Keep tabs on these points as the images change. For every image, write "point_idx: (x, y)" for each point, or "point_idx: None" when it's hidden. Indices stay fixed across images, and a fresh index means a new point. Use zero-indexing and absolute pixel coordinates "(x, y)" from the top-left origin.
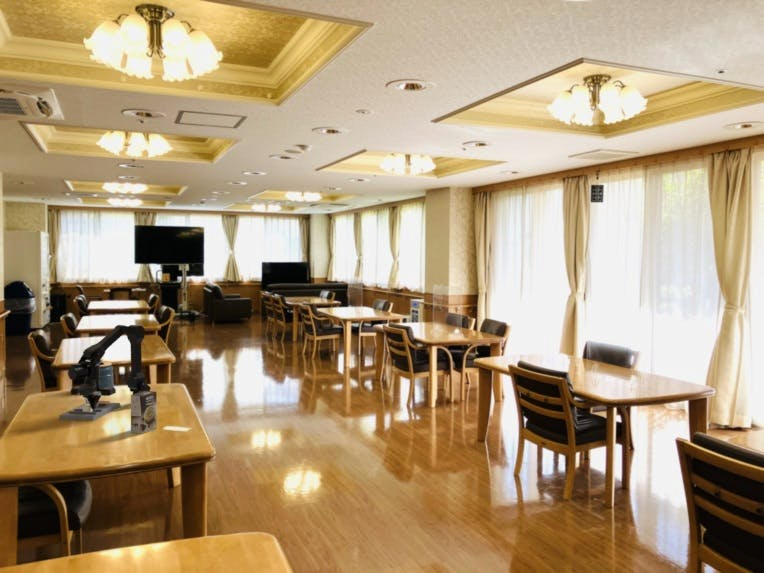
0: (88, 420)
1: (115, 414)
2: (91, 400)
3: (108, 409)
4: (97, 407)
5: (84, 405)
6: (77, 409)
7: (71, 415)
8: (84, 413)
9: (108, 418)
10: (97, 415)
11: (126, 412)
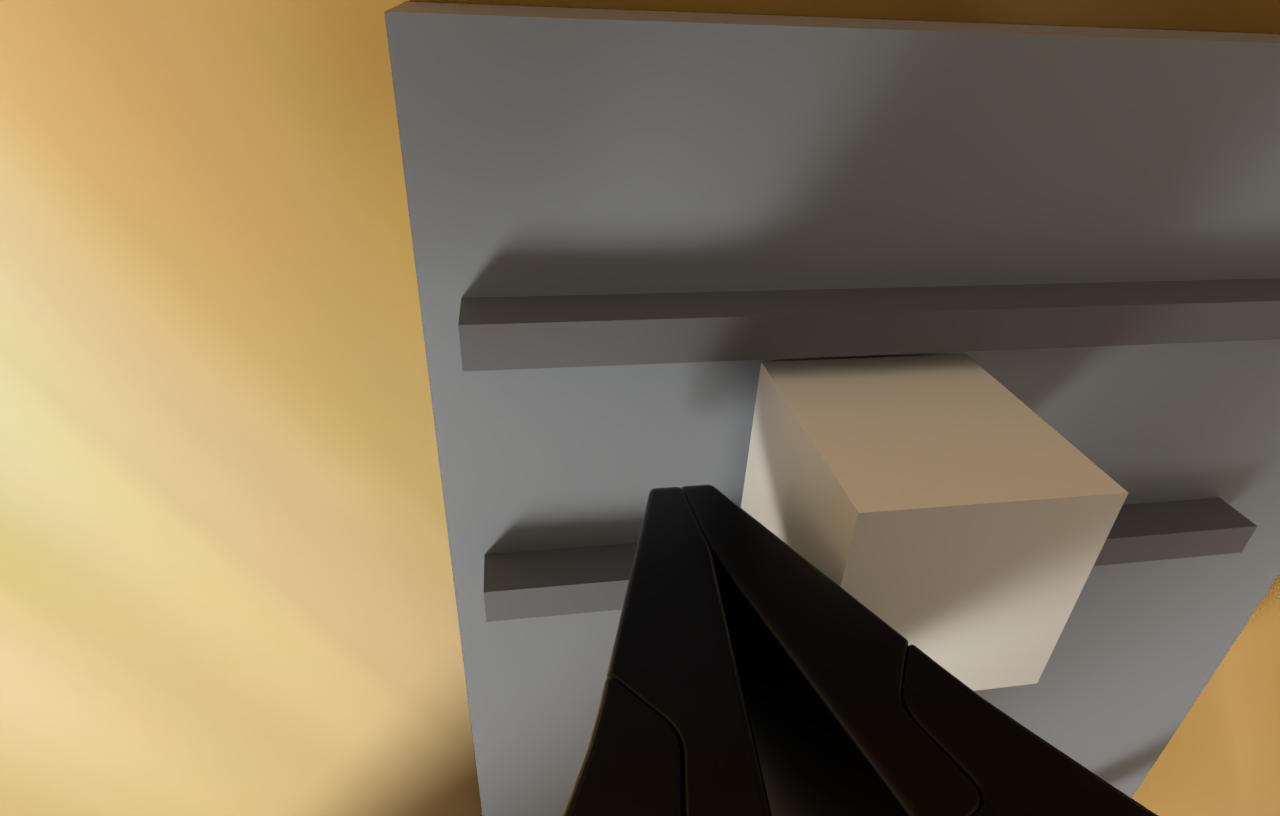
0: (587, 9)
1: (230, 637)
2: (855, 799)
3: (477, 752)
4: None
5: (1059, 535)
6: (1172, 528)
7: (1253, 43)
8: (882, 292)
9: (98, 323)
10: (424, 302)
11: (104, 779)
